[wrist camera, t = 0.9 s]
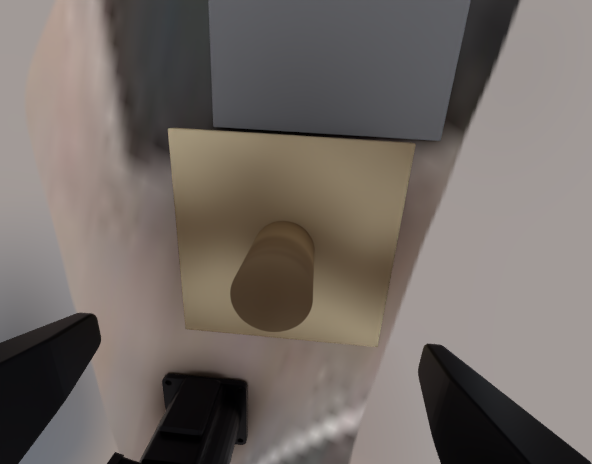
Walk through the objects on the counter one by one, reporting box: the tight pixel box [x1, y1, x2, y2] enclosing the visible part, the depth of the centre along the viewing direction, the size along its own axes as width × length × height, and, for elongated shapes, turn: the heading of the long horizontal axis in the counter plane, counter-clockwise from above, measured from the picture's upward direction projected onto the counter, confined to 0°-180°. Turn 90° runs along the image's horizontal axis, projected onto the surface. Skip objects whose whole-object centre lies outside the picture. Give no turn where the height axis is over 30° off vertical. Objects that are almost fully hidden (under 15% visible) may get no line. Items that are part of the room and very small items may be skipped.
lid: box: [168, 128, 416, 347], centre depth 12 cm, size 10×10×5 cm
